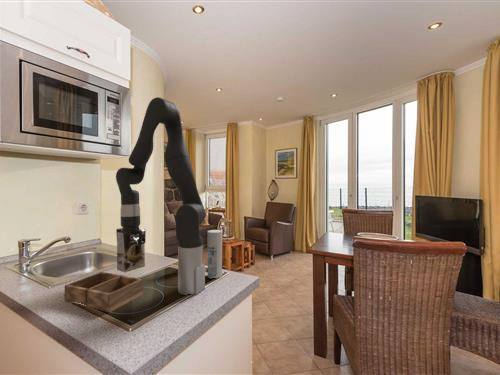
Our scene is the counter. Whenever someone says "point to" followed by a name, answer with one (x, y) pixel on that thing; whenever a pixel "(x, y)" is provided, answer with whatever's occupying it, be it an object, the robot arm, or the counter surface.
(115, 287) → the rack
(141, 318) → the counter surface
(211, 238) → the spray can
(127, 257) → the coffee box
